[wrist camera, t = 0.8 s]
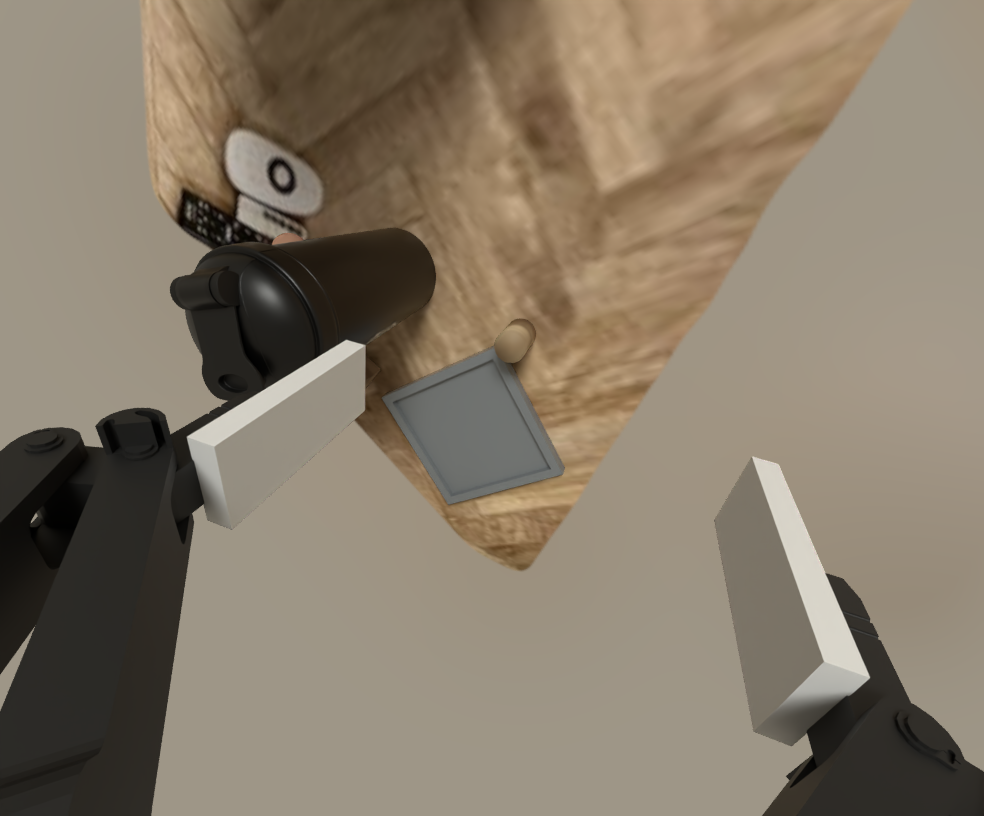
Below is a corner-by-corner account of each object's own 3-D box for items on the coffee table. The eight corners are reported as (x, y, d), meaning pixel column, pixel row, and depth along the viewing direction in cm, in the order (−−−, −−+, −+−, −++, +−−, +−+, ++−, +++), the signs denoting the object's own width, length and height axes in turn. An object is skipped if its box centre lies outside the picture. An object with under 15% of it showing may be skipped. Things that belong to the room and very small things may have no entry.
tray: (386, 393, 53) (381, 397, 52) (500, 342, 46) (496, 346, 45) (452, 498, 58) (448, 504, 57) (564, 467, 50) (562, 474, 49)
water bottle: (368, 323, 50) (188, 419, 30) (342, 225, 45) (113, 263, 26) (452, 317, 46) (309, 421, 27) (432, 211, 42) (246, 243, 23)
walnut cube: (340, 366, 54) (319, 379, 50) (355, 345, 52) (335, 357, 48) (364, 389, 54) (346, 404, 51) (381, 369, 52) (362, 382, 49)
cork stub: (501, 325, 45) (488, 339, 41) (527, 313, 44) (516, 326, 40) (515, 351, 46) (503, 367, 42) (540, 340, 45) (531, 356, 41)
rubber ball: (281, 241, 48) (257, 245, 45) (303, 224, 47) (279, 228, 44) (301, 272, 49) (278, 278, 46) (322, 257, 48) (300, 262, 45)
